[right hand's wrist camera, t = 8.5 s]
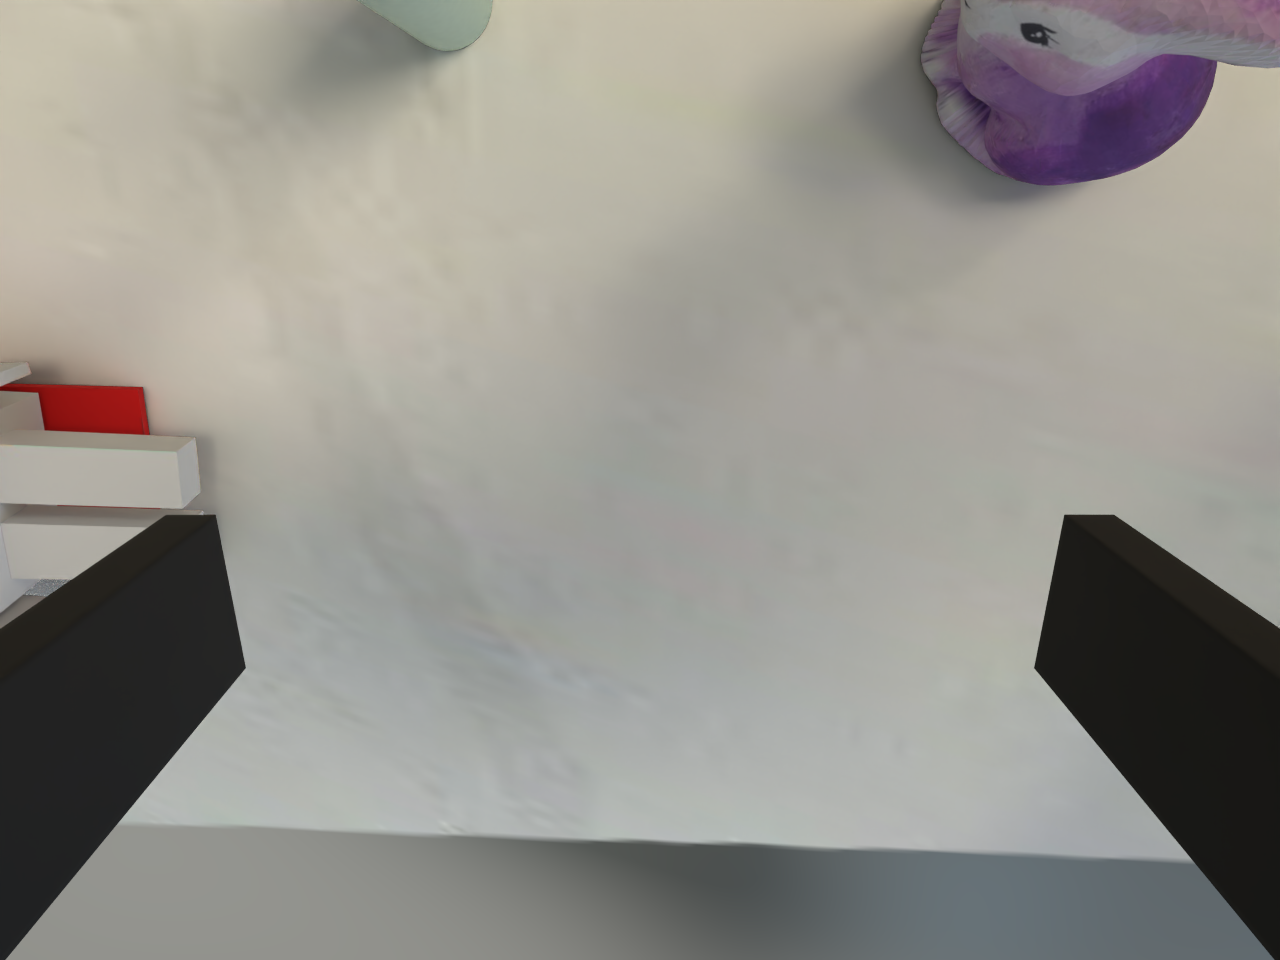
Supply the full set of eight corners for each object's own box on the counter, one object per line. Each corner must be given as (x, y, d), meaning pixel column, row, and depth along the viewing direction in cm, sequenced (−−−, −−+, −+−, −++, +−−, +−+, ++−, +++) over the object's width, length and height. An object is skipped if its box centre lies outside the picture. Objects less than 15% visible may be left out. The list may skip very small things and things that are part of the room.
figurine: (869, 9, 33) (1034, -125, 19) (1119, -96, 32) (1496, -325, 18) (924, 232, 36) (1103, 259, 22) (1155, 144, 35) (1503, 113, 21)
